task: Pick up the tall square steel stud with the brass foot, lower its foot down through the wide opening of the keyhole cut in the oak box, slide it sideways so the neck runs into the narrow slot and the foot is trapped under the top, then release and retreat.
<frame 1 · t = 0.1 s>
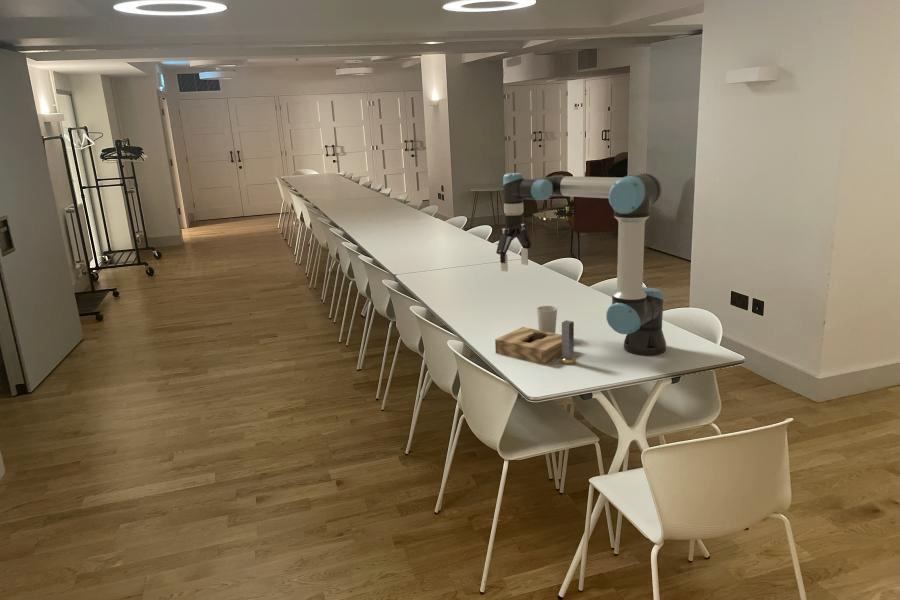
hand: (514, 267, 261), 28 cm above the table, fingers open, 13 cm apart
cup: (547, 337, 263), on the table
keyhole box: (533, 351, 248), on the table
stud: (567, 362, 236), on the table
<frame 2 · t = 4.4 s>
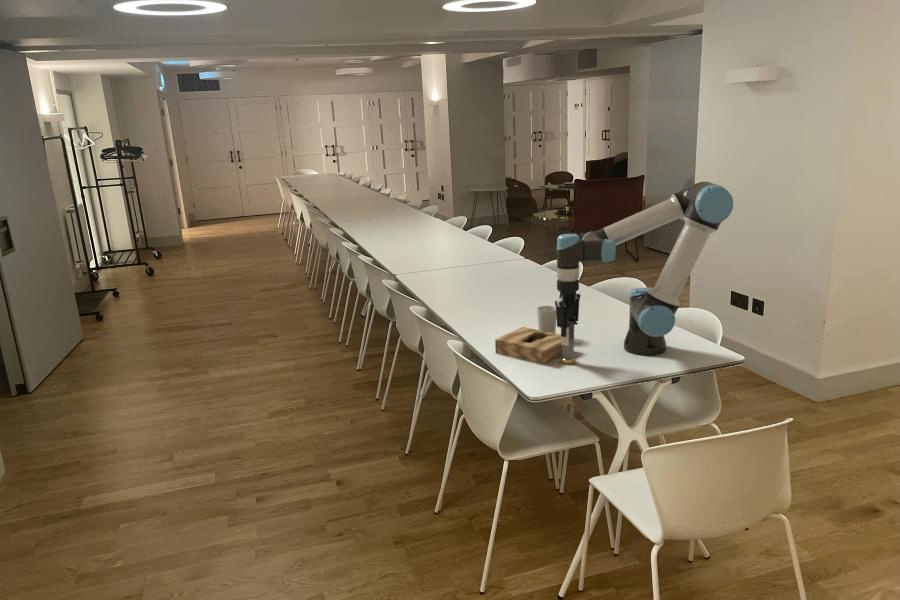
hand: (567, 343, 234), 7 cm above the table, fingers closed on stud, 3 cm apart
stud: (567, 362, 236), on the table, touching gripper
everything else where it was.
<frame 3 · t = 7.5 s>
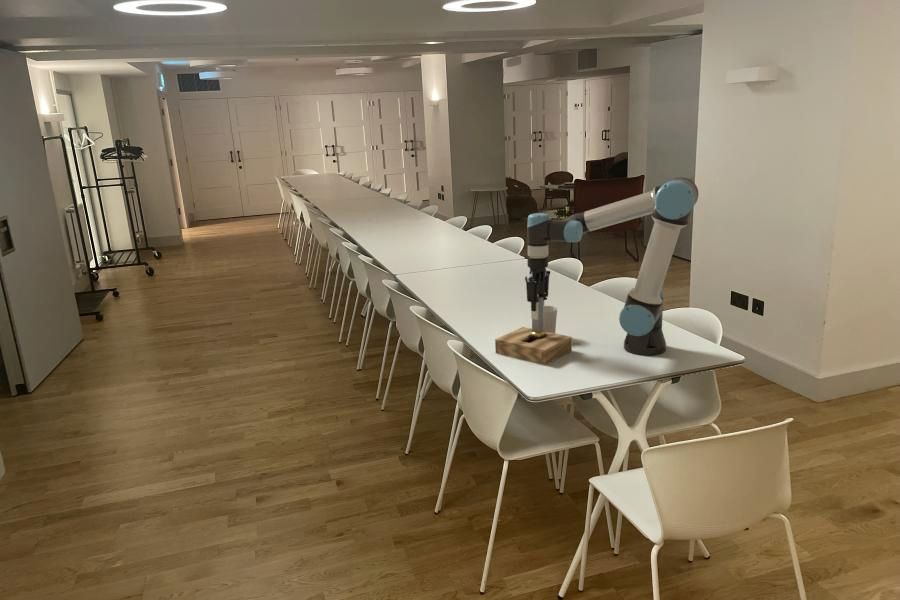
hand: (537, 317, 247), 12 cm above the table, fingers closed on stud, 3 cm apart
stud: (537, 335, 249), point 5 cm above the table, touching gripper
everything else where it was.
when the fingers open (8 cm above the table, at t = 10.7 s): stud stays where it is, resting in keyhole box.
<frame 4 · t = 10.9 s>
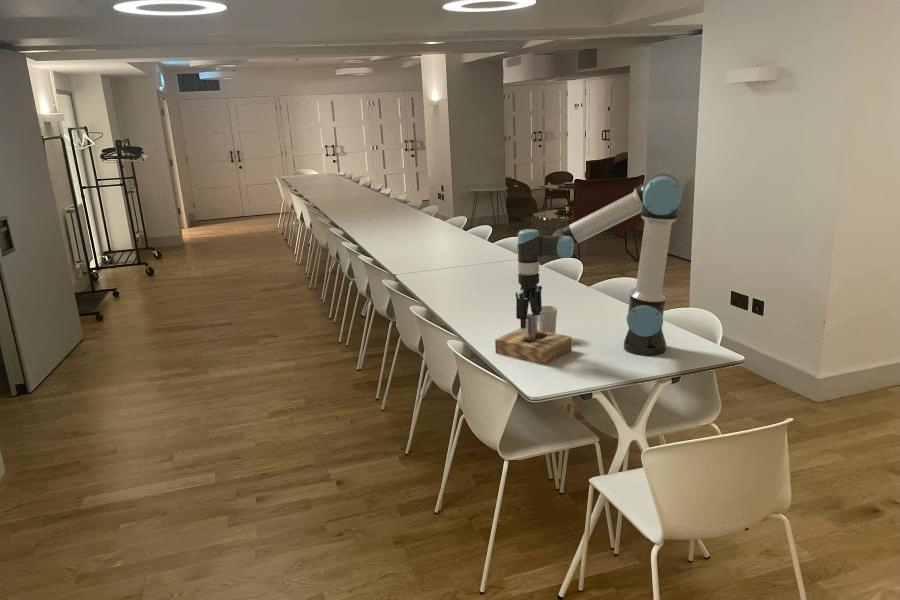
hand: (529, 333, 244), 8 cm above the table, fingers open, 5 cm apart
stud: (529, 353, 246), resting in keyhole box
everything else where it was.
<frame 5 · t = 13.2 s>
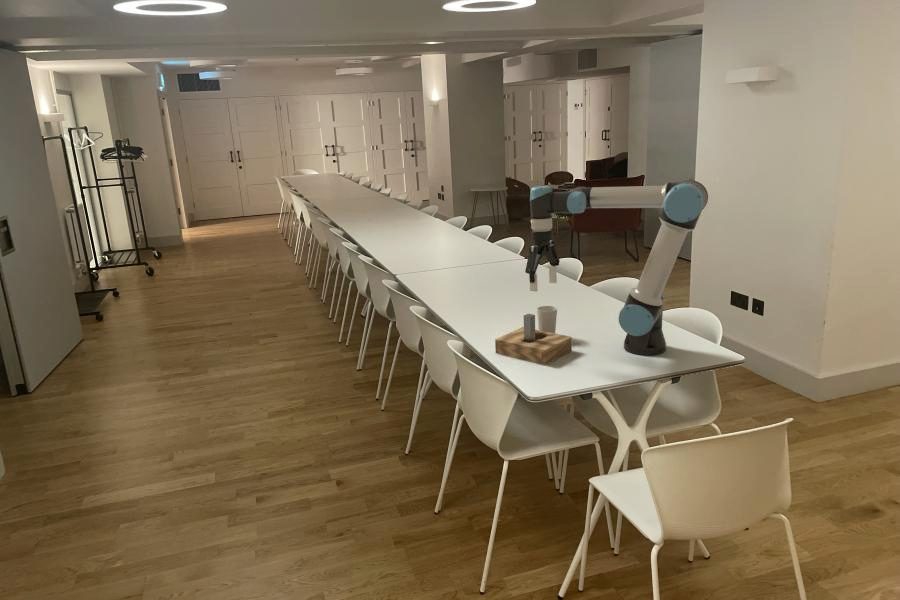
hand: (543, 287, 244), 24 cm above the table, fingers open, 13 cm apart
nothing on the table moved.
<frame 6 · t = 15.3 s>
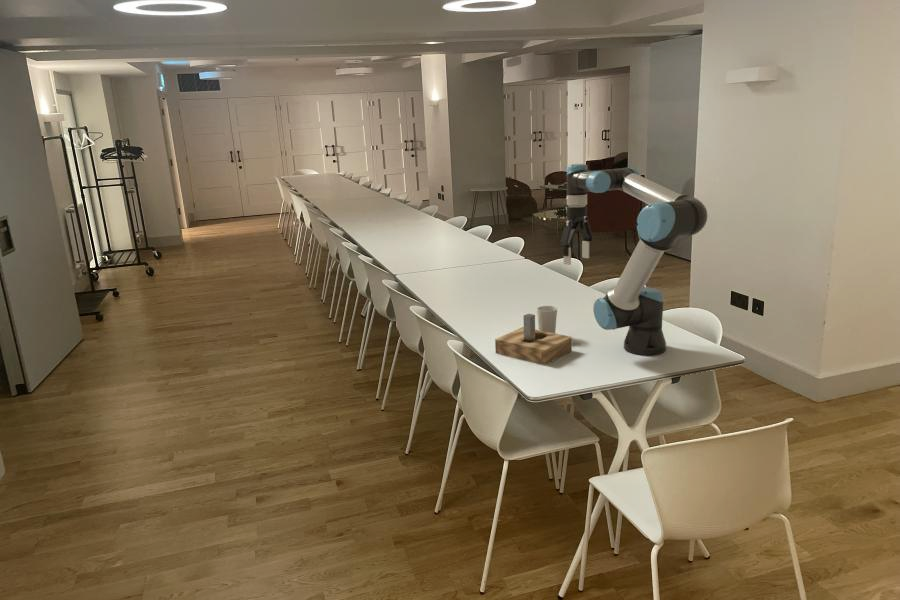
hand: (576, 261, 254), 31 cm above the table, fingers open, 13 cm apart
nothing on the table moved.
at the end: stud 0.8 cm from the target spot on the keyhole box, point 0.0 cm above the keyhole box's base; stud tilted 0°; the gripper is holding nothing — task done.
